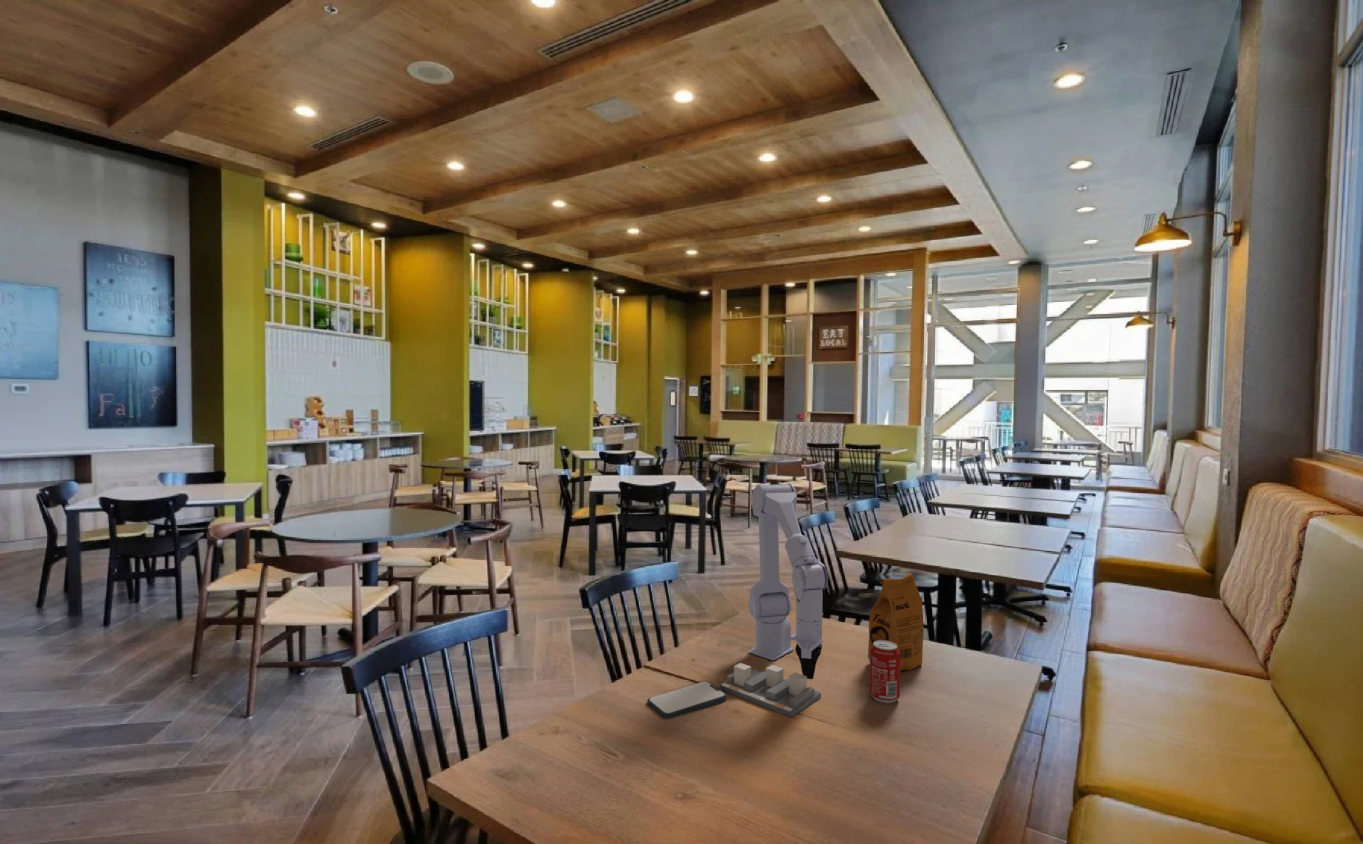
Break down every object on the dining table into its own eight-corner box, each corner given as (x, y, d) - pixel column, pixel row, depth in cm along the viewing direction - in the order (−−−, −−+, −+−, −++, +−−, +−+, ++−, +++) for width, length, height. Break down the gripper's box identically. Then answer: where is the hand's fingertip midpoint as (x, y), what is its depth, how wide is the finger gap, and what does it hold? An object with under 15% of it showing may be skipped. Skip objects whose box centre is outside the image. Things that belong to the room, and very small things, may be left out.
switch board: (750, 672, 155) (750, 662, 155) (821, 697, 142) (821, 686, 142) (719, 689, 146) (719, 678, 146) (791, 717, 133) (791, 705, 133)
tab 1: (740, 679, 149) (740, 663, 148) (750, 683, 146) (751, 666, 146) (733, 683, 147) (734, 666, 147) (744, 687, 145) (744, 670, 145)
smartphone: (665, 723, 132) (729, 702, 141) (665, 715, 132) (729, 695, 141) (645, 705, 140) (706, 686, 148) (644, 698, 140) (706, 679, 148)
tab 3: (794, 689, 144) (794, 672, 143) (806, 694, 141) (806, 676, 141) (788, 693, 142) (789, 676, 142) (800, 697, 140) (800, 680, 140)
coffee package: (861, 661, 162) (862, 574, 161) (897, 652, 167) (899, 568, 166) (891, 677, 153) (893, 585, 152) (928, 666, 159) (930, 578, 158)
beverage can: (895, 692, 145) (896, 639, 144) (902, 706, 138) (903, 650, 138) (867, 691, 145) (867, 638, 145) (872, 704, 139) (873, 649, 139)
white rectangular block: (772, 681, 148) (772, 664, 147) (783, 685, 146) (783, 668, 145) (766, 685, 146) (766, 668, 146) (777, 689, 144) (777, 672, 144)
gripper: (794, 606, 152) (793, 662, 153) (787, 627, 138) (786, 689, 139) (824, 608, 150) (824, 666, 151) (821, 630, 136) (820, 693, 137)
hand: (808, 677), depth 145 cm, fingers closed
